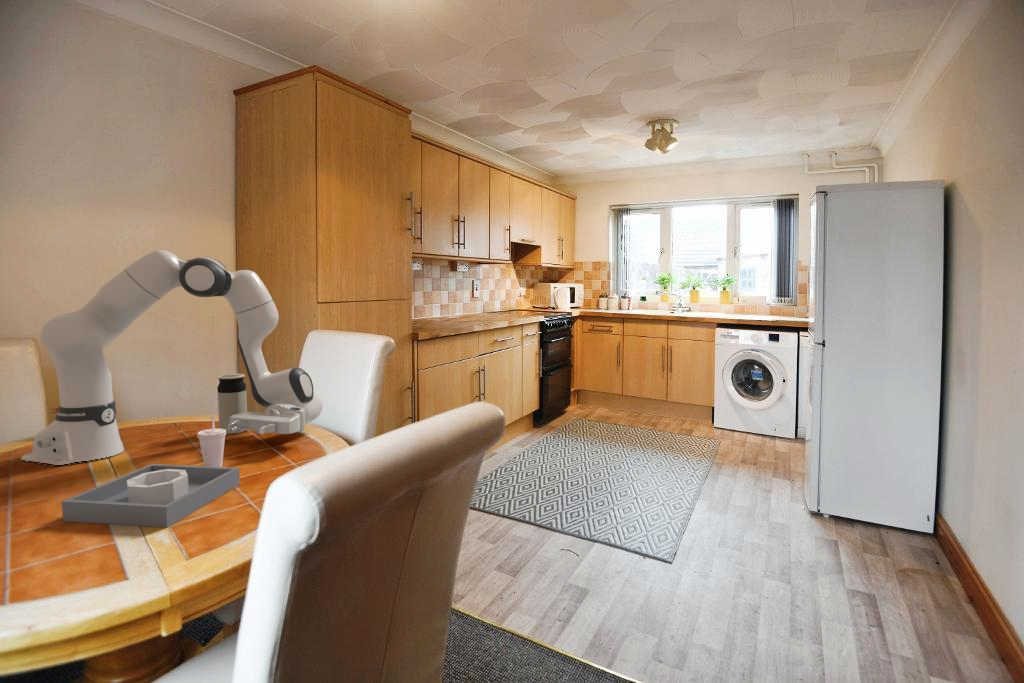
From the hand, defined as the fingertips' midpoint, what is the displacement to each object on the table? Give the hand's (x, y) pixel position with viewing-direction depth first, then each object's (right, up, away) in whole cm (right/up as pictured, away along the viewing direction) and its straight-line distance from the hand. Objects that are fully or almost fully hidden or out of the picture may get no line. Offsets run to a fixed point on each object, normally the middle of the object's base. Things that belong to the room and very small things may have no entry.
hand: (243, 429), depth 140 cm
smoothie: (-3, -9, -9) cm, 13 cm away
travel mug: (-16, -5, +25) cm, 30 cm away
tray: (-3, -10, -29) cm, 31 cm away
